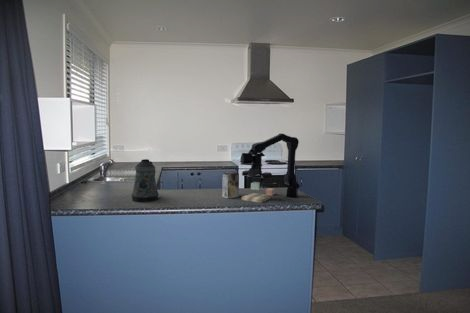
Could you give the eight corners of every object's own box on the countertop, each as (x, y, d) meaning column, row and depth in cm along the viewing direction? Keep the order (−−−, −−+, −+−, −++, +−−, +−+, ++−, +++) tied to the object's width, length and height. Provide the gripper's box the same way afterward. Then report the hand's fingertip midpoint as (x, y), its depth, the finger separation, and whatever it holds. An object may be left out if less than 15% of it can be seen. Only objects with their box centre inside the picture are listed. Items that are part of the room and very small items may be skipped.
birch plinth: (270, 198, 220) (270, 195, 219) (261, 202, 208) (261, 199, 208) (251, 195, 227) (251, 192, 227) (241, 199, 215) (241, 196, 215)
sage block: (262, 188, 218) (262, 182, 217) (258, 190, 213) (258, 183, 212) (254, 187, 220) (254, 181, 220) (250, 189, 216) (250, 183, 215)
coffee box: (233, 195, 228) (233, 171, 226) (238, 197, 223) (239, 172, 221) (221, 196, 222) (222, 172, 221) (227, 198, 217) (227, 174, 215)
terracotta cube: (274, 194, 232) (274, 188, 231) (271, 195, 228) (271, 190, 227) (268, 193, 234) (268, 188, 233) (265, 195, 230) (265, 189, 230)
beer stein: (131, 202, 204) (130, 161, 201) (132, 195, 222) (131, 158, 220) (159, 201, 208) (158, 161, 205) (157, 194, 227) (157, 157, 224)
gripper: (237, 163, 213) (237, 187, 214) (264, 165, 203) (264, 191, 205) (246, 161, 222) (246, 185, 224) (272, 163, 213) (271, 188, 214)
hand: (256, 187), depth 216 cm, fingers closed on sage block, 5 cm apart
